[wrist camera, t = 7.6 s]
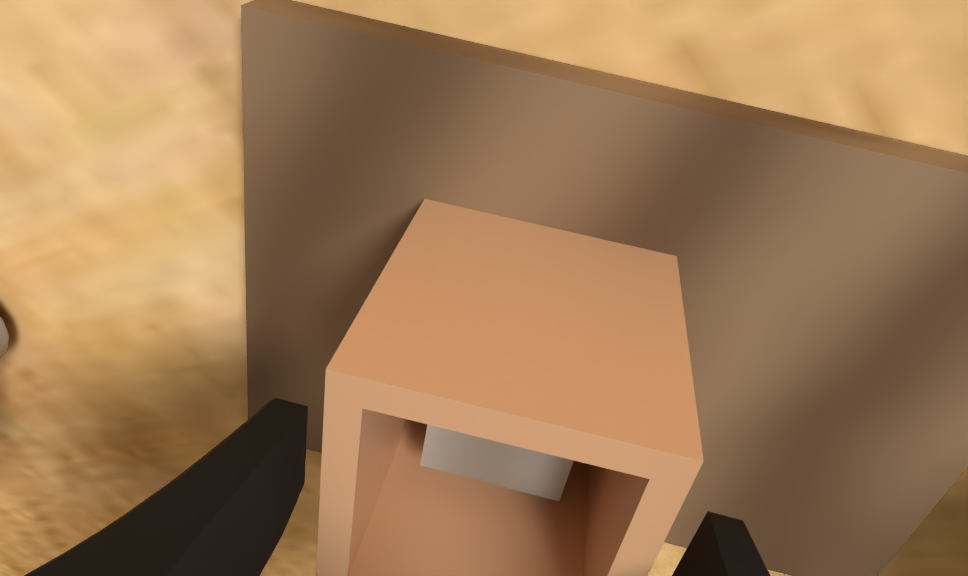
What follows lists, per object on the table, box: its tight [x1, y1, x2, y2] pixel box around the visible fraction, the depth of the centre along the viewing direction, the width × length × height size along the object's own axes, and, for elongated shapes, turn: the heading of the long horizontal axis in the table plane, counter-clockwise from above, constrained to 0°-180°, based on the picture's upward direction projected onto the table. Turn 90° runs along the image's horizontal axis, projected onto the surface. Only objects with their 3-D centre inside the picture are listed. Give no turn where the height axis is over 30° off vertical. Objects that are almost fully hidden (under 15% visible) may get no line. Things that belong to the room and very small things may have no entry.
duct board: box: [241, 0, 968, 576], centre depth 16 cm, size 18×12×5 cm, turn 80°
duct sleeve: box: [316, 199, 704, 576], centre depth 14 cm, size 6×6×6 cm
